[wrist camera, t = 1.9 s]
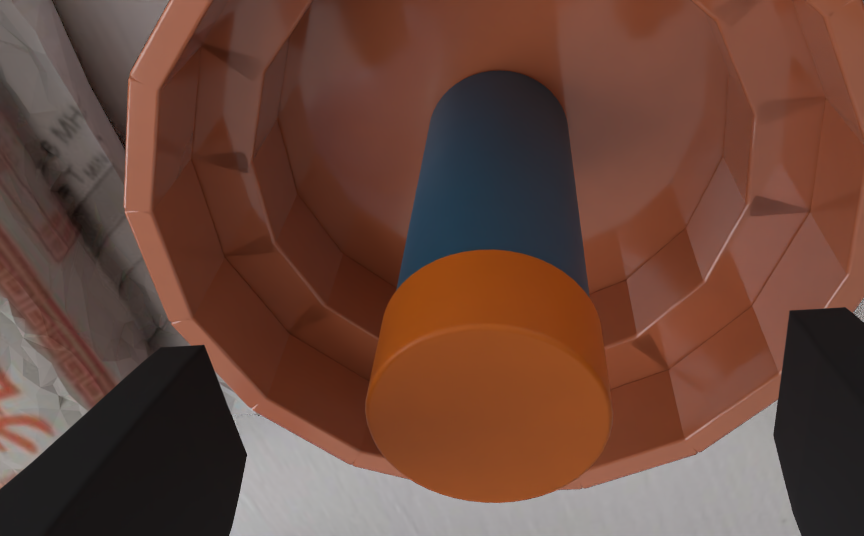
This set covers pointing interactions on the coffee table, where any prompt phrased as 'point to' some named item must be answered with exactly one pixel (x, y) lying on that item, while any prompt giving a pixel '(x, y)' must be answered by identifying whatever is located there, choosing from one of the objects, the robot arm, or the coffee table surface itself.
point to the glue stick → (492, 307)
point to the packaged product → (63, 245)
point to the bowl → (594, 179)
